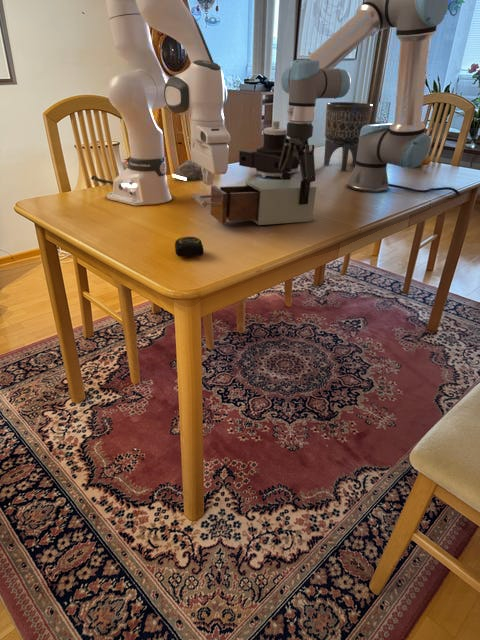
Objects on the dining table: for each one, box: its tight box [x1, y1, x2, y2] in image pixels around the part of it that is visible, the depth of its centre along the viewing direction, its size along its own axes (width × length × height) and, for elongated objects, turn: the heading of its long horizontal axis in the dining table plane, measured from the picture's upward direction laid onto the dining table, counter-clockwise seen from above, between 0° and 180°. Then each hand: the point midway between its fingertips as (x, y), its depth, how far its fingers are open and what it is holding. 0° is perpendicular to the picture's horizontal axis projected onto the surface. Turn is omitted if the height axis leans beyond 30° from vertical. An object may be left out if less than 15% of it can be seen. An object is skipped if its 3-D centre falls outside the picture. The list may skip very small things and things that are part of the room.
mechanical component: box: [238, 120, 300, 179], centre depth 191 cm, size 22×21×30 cm
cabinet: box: [245, 178, 317, 226], centre depth 138 cm, size 18×11×10 cm, turn 113°
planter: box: [323, 101, 374, 172], centre depth 204 cm, size 20×20×26 cm
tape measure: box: [174, 236, 205, 258], centre depth 113 cm, size 7×7×4 cm
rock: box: [175, 159, 203, 182], centre depth 183 cm, size 13×9×6 cm, turn 131°
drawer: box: [191, 185, 260, 225], centre depth 133 cm, size 23×10×8 cm, turn 113°
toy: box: [417, 157, 432, 168], centre depth 216 cm, size 11×6×15 cm
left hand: (208, 184), depth 127 cm, fingers closed
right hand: (293, 199), depth 140 cm, fingers closed on cabinet, 11 cm apart
